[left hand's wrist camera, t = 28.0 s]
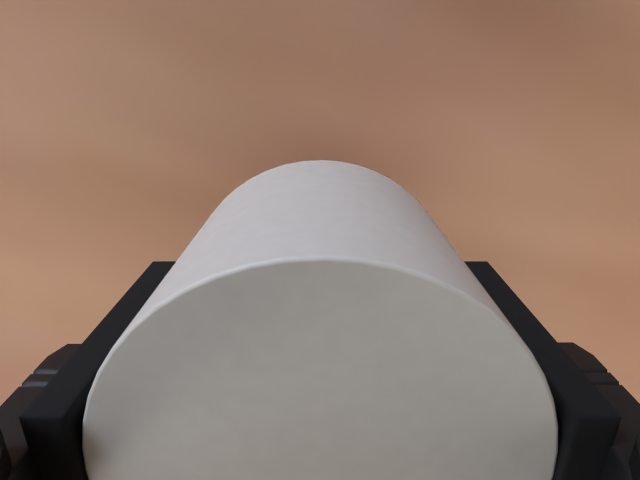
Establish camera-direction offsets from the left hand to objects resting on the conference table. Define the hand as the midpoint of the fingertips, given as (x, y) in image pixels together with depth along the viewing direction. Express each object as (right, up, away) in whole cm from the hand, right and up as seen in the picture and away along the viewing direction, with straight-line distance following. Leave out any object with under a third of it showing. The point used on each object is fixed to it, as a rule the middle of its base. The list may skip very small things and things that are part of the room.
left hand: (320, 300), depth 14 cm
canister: (0, 0, +1) cm, 1 cm away
